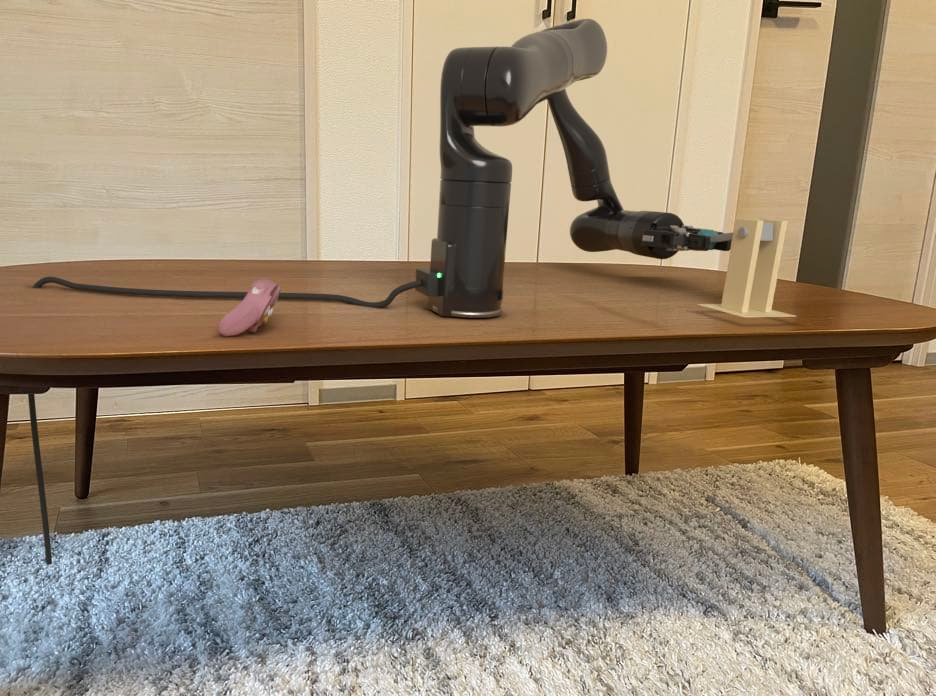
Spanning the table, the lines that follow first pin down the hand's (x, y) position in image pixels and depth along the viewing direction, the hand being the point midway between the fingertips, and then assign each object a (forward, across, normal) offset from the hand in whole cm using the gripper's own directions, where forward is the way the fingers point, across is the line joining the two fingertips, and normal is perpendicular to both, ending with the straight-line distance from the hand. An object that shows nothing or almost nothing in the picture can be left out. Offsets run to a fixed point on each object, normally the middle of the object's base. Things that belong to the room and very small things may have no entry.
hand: (718, 243), depth 115 cm
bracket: (+8, 0, +10) cm, 13 cm away
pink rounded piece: (+9, -70, +10) cm, 71 cm away
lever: (+3, 0, 0) cm, 3 cm away
